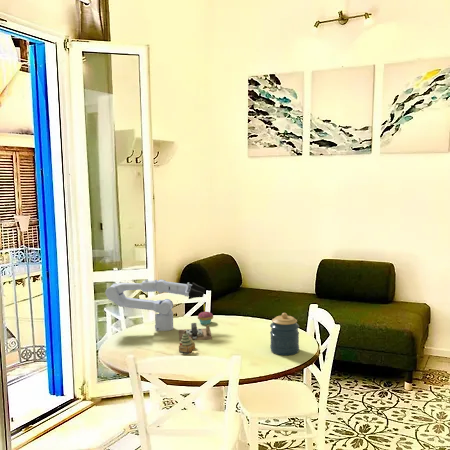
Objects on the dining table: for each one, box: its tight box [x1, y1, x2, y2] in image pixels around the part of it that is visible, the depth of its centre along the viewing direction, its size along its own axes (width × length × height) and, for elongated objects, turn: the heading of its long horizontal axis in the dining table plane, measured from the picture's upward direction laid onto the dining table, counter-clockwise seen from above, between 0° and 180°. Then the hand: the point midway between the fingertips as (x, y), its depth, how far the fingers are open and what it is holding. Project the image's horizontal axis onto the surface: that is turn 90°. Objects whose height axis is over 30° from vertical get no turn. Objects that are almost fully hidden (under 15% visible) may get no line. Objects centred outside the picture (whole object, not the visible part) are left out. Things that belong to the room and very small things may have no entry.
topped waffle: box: [178, 331, 196, 355], centre depth 221 cm, size 8×6×10 cm
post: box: [190, 322, 198, 332], centre depth 242 cm, size 3×3×6 cm
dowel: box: [205, 324, 210, 335], centre depth 241 cm, size 2×2×4 cm
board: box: [178, 327, 213, 342], centre depth 242 cm, size 16×18×1 cm
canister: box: [269, 312, 300, 356], centre depth 219 cm, size 13×13×18 cm
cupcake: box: [197, 303, 214, 325], centre depth 261 cm, size 9×8×12 cm
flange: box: [186, 326, 203, 339], centre depth 240 cm, size 12×8×6 cm, turn 6°
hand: (204, 292), depth 250 cm, fingers open, 7 cm apart
